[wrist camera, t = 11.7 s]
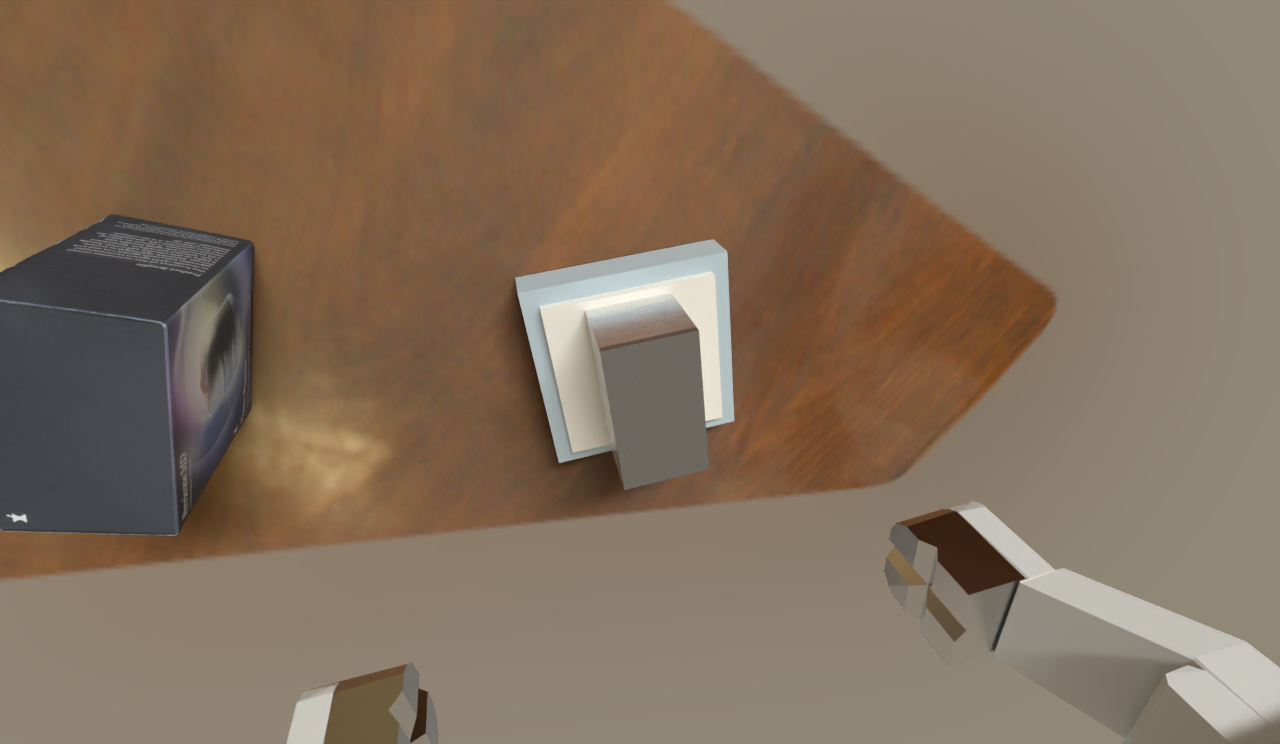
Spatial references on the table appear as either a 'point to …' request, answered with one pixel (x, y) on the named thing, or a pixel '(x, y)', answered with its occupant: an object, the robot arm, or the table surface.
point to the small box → (121, 376)
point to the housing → (650, 388)
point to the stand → (568, 292)
